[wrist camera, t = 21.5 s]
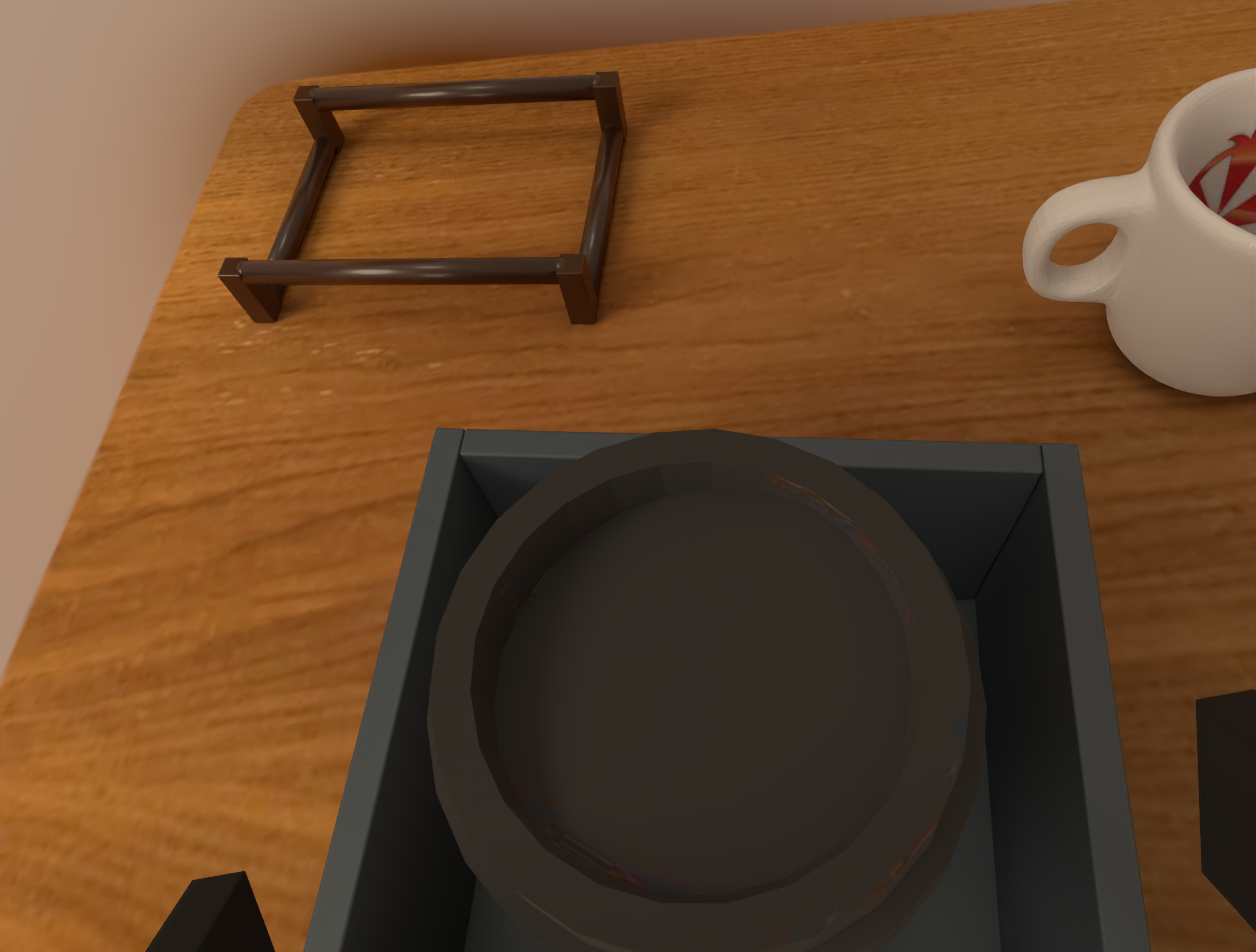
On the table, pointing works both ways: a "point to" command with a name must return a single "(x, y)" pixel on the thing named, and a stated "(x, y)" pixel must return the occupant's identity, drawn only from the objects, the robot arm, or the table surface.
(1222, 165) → the cup
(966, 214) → the table surface
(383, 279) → the rectangular rod frame
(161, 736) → the table surface
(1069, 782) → the grey open box
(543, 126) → the table surface
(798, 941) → the coffee cup
